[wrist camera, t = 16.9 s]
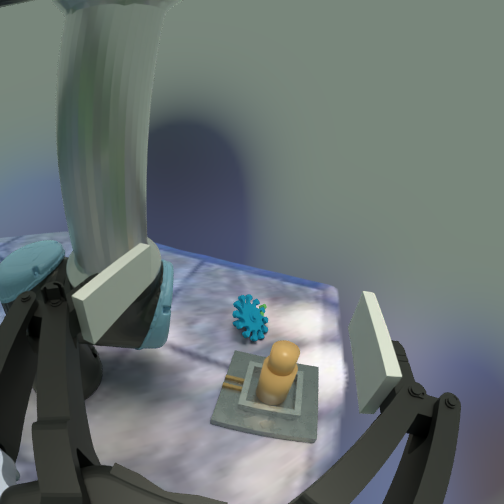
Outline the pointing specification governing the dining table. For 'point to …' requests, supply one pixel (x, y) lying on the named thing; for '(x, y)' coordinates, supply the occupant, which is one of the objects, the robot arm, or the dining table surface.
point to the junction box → (263, 415)
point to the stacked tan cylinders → (278, 373)
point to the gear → (250, 317)
